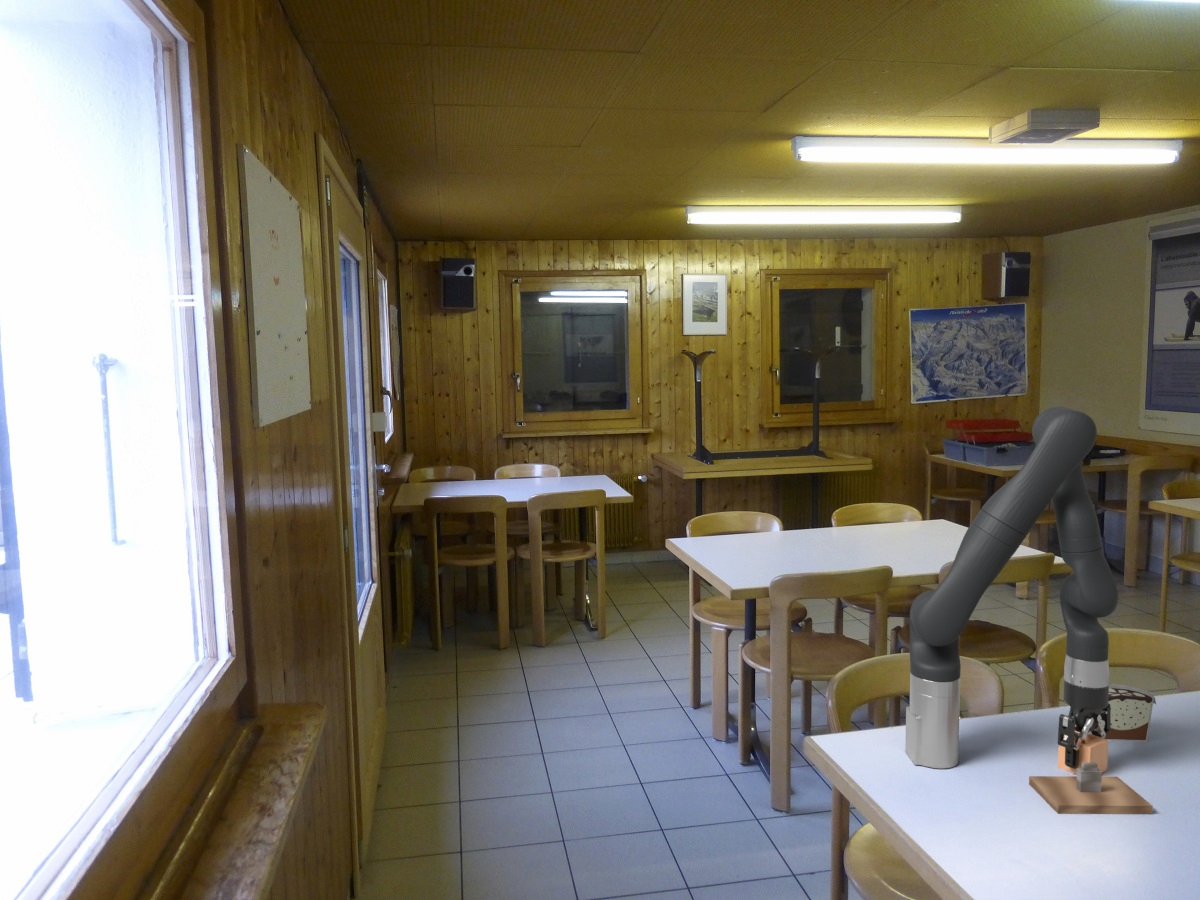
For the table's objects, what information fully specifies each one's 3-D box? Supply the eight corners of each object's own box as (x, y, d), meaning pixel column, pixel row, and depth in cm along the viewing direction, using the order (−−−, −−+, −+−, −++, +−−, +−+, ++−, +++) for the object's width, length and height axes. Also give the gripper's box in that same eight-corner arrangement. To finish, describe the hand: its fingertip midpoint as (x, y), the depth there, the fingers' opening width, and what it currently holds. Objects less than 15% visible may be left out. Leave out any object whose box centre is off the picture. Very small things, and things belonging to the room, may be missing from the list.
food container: (1139, 729, 186) (1141, 684, 185) (1154, 741, 180) (1156, 694, 179) (1078, 728, 187) (1080, 682, 186) (1091, 740, 181) (1093, 693, 180)
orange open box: (1089, 778, 164) (1090, 747, 164) (1057, 767, 169) (1058, 737, 169) (1107, 770, 168) (1108, 739, 167) (1075, 758, 173) (1076, 729, 172)
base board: (1057, 813, 151) (1059, 777, 151) (1029, 784, 162) (1030, 750, 162) (1152, 814, 151) (1153, 777, 150) (1116, 784, 162) (1118, 750, 161)
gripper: (1085, 693, 160) (1083, 778, 161) (1126, 677, 167) (1123, 759, 169) (1046, 681, 166) (1043, 763, 167) (1086, 666, 174) (1084, 745, 175)
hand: (1083, 761), depth 168 cm, fingers open, 8 cm apart
